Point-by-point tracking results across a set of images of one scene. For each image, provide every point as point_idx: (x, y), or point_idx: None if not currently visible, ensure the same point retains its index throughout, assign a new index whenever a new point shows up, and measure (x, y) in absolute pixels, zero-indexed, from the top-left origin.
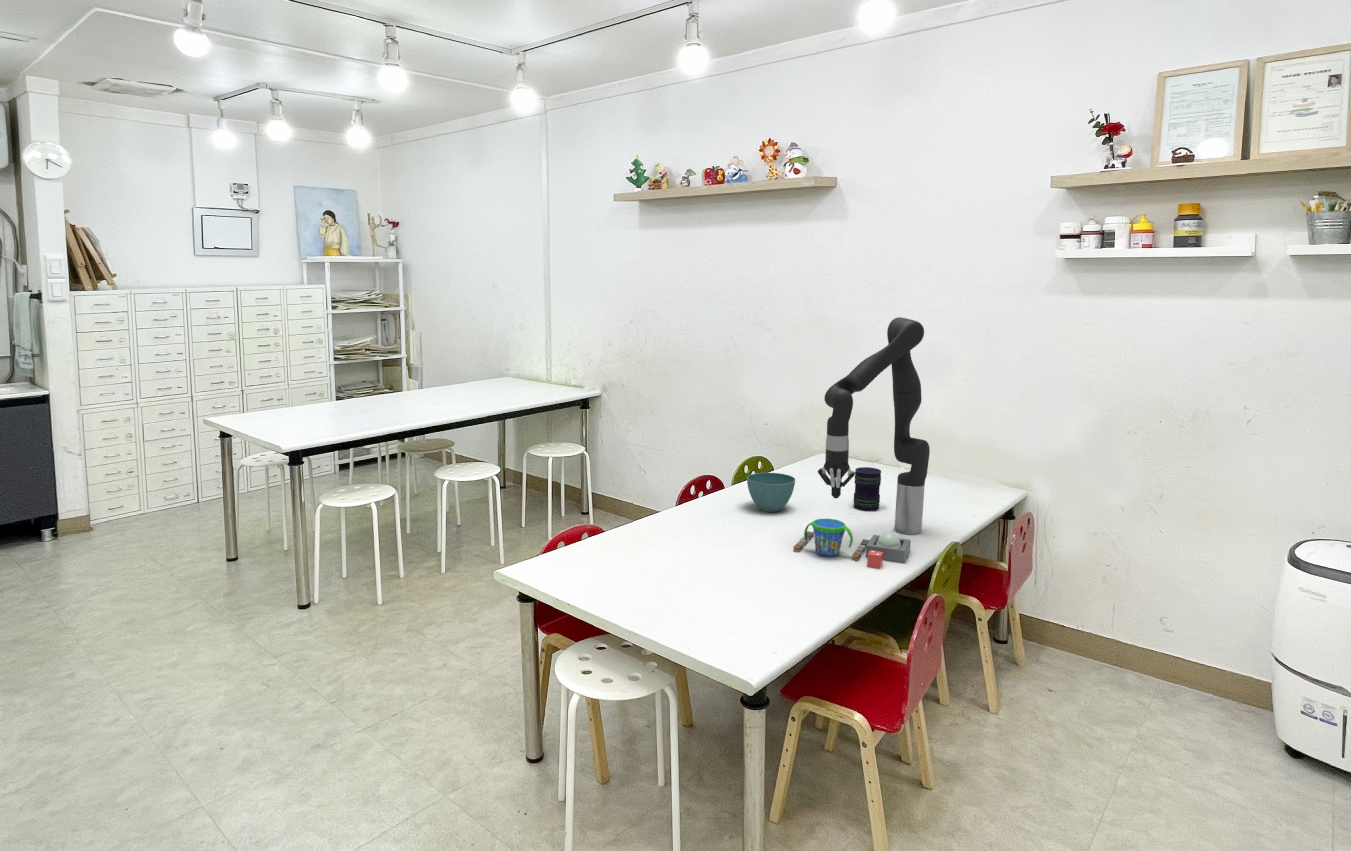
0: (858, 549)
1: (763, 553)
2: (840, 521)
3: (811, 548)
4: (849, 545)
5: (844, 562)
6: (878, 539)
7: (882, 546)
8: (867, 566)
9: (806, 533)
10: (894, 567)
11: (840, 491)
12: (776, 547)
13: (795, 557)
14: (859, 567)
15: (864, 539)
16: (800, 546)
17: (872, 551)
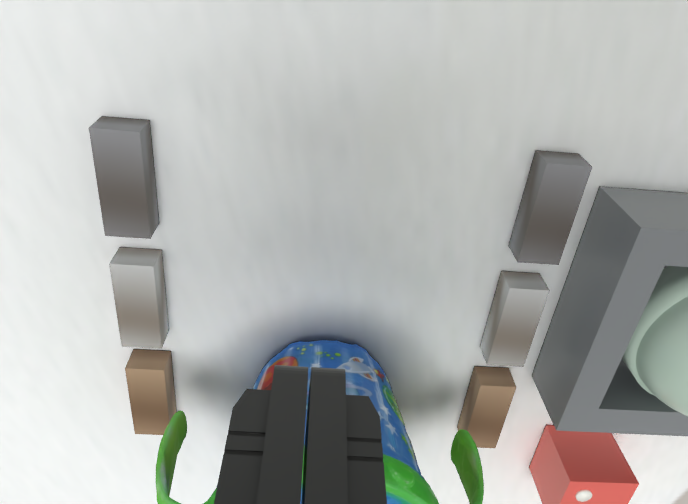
0: (500, 361)
1: (21, 474)
2: (402, 497)
3: (218, 347)
4: (456, 467)
5: (423, 456)
6: (653, 382)
7: (655, 416)
8: (531, 467)
9: (174, 463)
10: (661, 440)
11: (380, 481)
12: (31, 391)
13: (185, 470)
14: (494, 482)
15: (554, 170)
16: (167, 416)
17: (580, 499)
